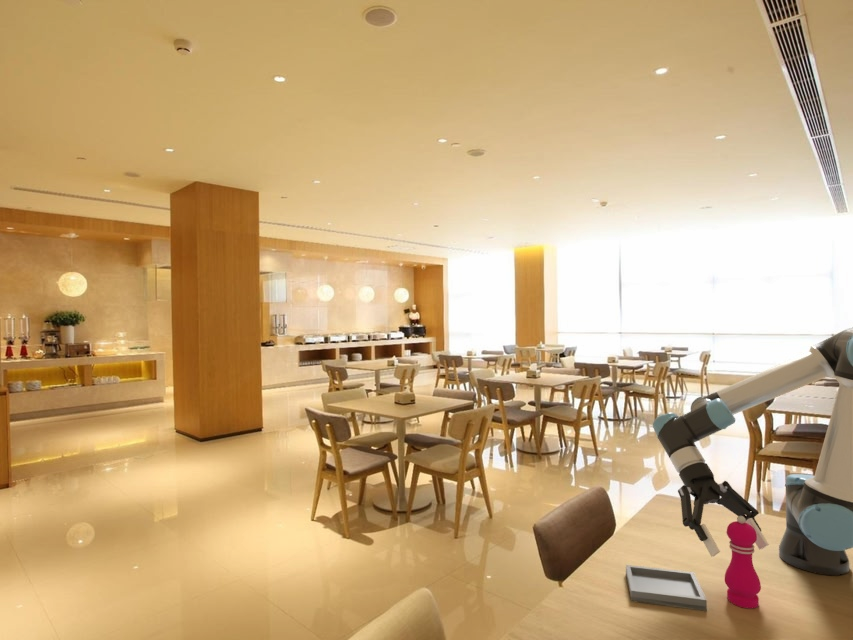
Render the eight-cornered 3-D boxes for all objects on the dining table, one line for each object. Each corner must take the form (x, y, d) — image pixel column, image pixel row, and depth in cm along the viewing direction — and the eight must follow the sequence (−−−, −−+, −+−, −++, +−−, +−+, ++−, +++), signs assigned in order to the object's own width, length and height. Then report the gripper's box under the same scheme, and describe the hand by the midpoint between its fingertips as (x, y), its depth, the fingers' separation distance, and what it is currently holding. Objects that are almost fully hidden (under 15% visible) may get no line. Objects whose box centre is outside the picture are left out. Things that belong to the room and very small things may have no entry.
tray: (694, 582, 128) (693, 572, 128) (706, 611, 115) (706, 600, 115) (625, 574, 132) (625, 564, 132) (631, 601, 120) (631, 590, 120)
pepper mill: (767, 611, 114) (765, 523, 114) (731, 608, 116) (730, 521, 116) (753, 594, 122) (751, 511, 122) (720, 591, 123) (718, 509, 123)
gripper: (724, 471, 138) (773, 550, 124) (644, 479, 133) (686, 563, 118) (739, 457, 133) (793, 538, 119) (657, 464, 128) (703, 550, 113)
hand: (740, 550), depth 118 cm, fingers open, 13 cm apart
